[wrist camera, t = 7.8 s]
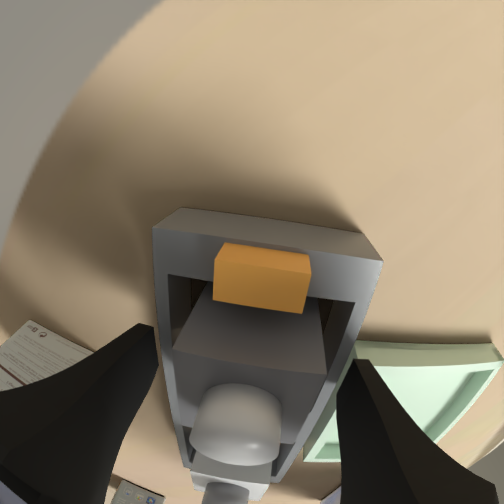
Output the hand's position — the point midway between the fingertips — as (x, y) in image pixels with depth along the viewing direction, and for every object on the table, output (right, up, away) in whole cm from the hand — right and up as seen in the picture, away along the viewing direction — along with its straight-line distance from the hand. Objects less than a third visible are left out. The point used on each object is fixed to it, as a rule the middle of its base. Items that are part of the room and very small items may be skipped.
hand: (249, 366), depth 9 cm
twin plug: (-1, -7, +6) cm, 9 cm away
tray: (+9, -5, +4) cm, 11 cm away
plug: (0, +1, +3) cm, 3 cm away
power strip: (0, -3, +4) cm, 5 cm away
